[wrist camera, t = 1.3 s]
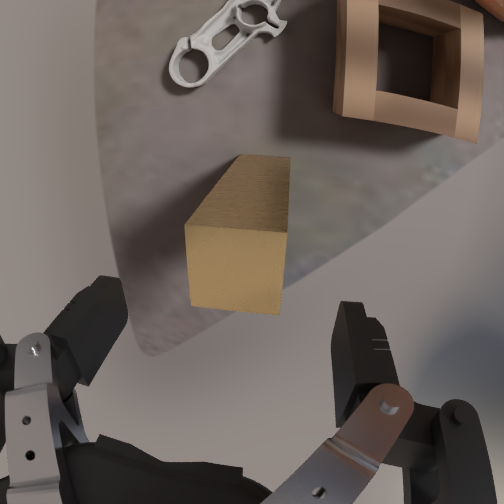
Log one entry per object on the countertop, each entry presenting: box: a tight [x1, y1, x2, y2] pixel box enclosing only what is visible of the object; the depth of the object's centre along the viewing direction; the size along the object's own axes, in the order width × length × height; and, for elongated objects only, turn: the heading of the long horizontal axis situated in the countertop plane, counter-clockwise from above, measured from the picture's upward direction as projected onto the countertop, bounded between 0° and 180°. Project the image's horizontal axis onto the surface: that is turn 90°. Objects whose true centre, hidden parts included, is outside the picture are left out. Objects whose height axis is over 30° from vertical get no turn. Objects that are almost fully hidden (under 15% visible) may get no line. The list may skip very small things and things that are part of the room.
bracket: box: [169, 0, 287, 88], centre depth 18 cm, size 8×2×15 cm
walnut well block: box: [332, 0, 484, 144], centre depth 17 cm, size 10×10×5 cm
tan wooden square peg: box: [184, 155, 290, 315], centre depth 19 cm, size 4×4×14 cm
